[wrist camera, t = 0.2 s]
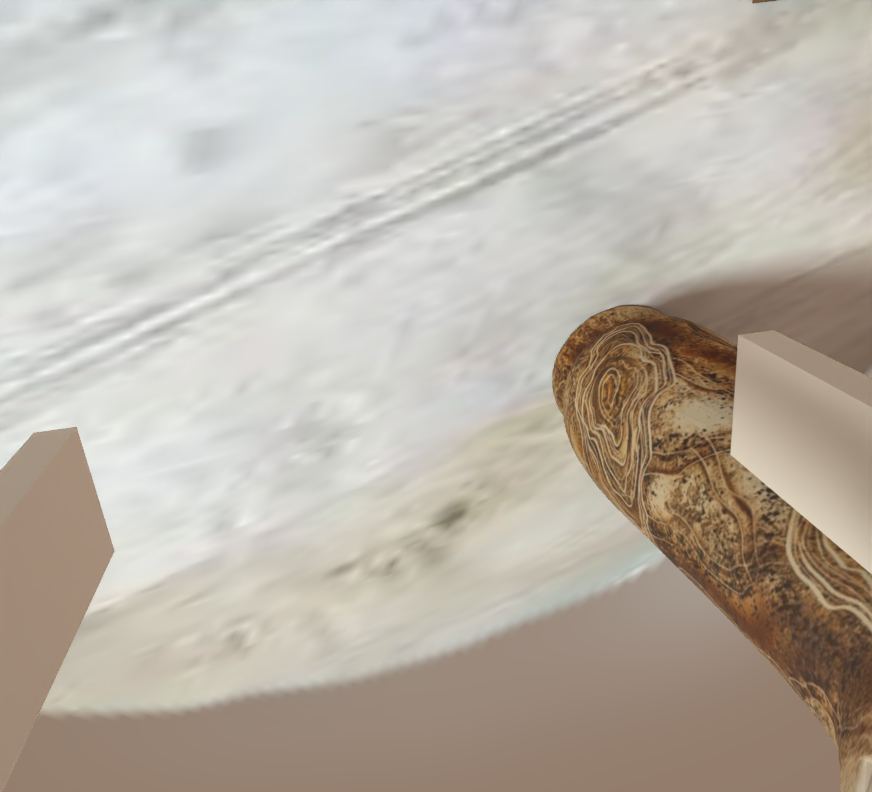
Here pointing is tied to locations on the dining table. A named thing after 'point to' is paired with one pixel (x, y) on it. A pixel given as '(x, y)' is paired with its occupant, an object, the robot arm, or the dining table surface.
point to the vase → (720, 509)
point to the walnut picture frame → (757, 0)
